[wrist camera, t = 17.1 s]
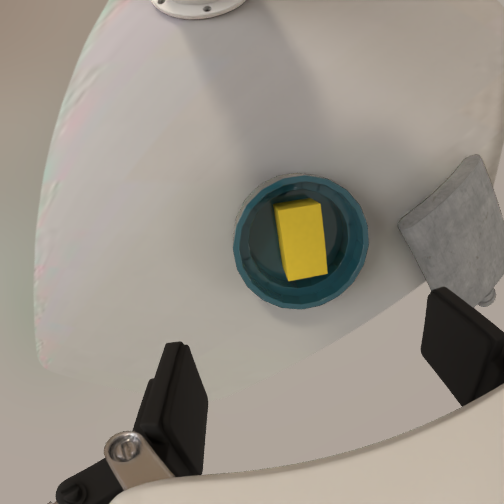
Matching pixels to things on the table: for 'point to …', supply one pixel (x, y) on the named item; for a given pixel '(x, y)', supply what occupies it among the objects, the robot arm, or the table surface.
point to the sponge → (301, 238)
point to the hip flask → (460, 235)
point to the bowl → (268, 250)
